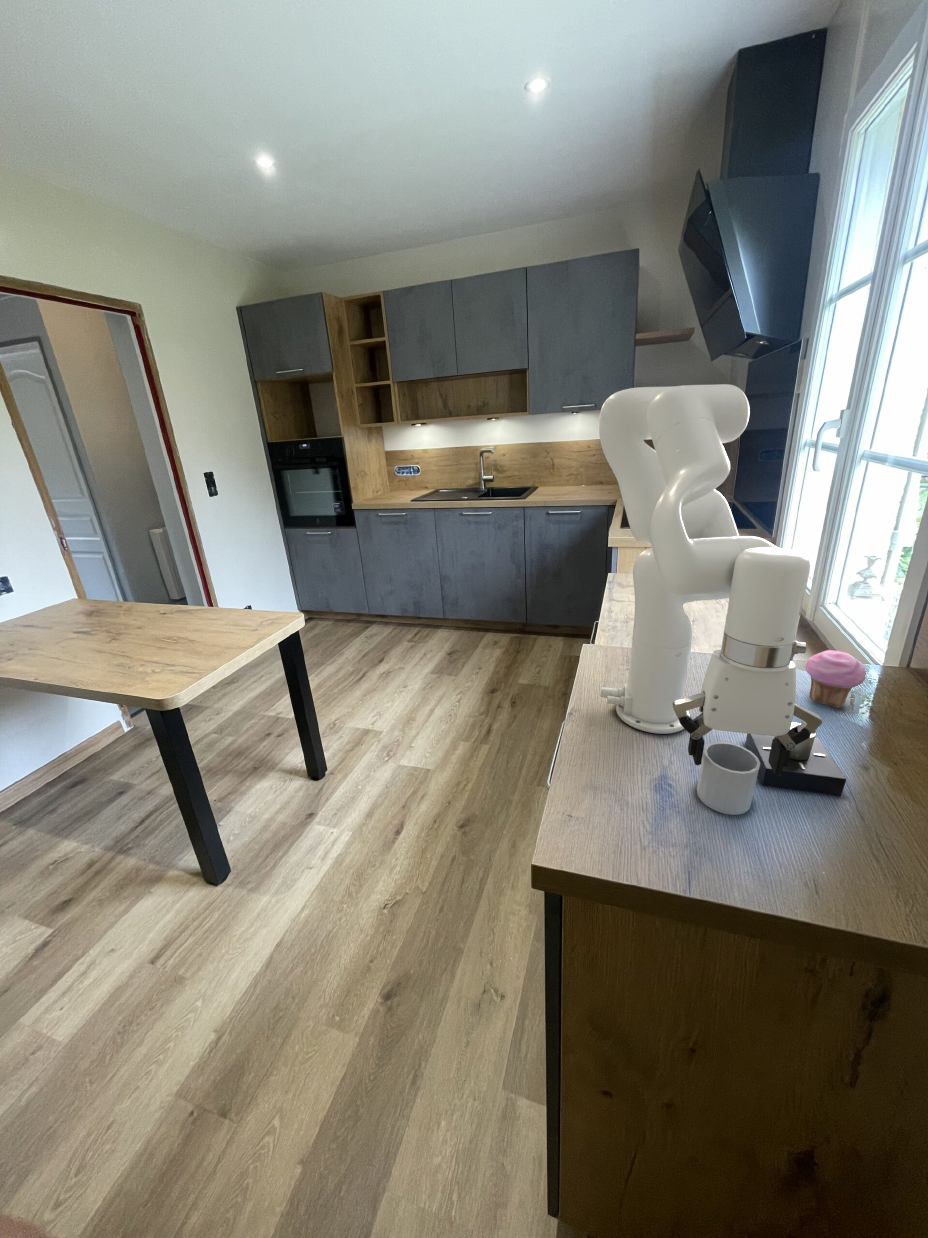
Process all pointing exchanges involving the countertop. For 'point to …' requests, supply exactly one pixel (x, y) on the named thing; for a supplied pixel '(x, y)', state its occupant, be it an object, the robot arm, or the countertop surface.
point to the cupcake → (833, 676)
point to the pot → (727, 777)
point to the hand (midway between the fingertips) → (734, 764)
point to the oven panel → (798, 768)
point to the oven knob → (802, 746)
